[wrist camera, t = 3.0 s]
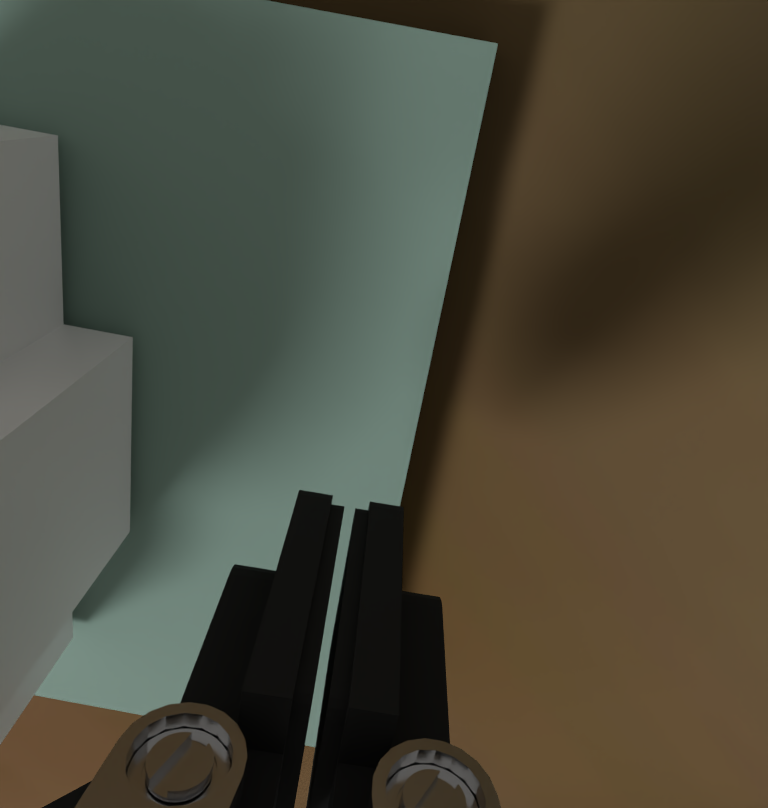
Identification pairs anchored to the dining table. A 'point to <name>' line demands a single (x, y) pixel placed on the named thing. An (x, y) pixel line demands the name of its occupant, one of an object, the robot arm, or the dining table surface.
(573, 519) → the dining table surface
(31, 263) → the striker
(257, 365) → the pitch
